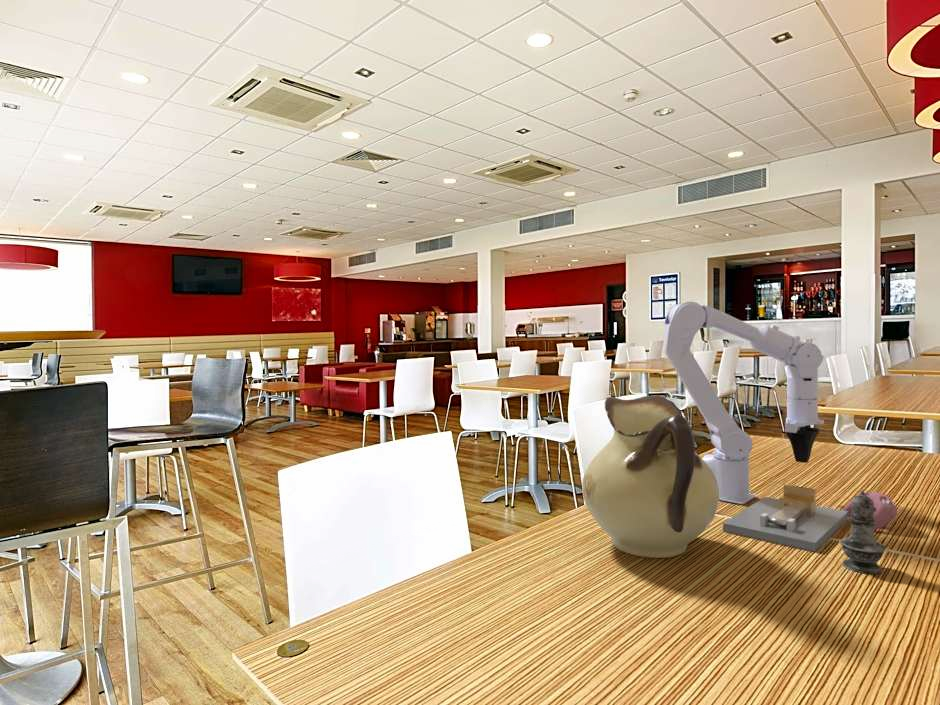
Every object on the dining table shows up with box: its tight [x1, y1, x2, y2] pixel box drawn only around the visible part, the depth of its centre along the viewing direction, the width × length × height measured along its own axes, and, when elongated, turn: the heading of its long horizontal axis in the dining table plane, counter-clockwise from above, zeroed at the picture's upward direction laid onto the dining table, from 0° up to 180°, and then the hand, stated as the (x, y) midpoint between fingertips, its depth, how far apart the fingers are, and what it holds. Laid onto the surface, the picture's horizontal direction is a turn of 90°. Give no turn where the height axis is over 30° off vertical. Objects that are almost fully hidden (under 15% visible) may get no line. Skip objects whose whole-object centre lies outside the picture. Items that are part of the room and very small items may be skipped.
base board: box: [722, 496, 849, 553], centre depth 110 cm, size 15×22×3 cm
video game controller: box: [843, 490, 898, 531], centre depth 110 cm, size 10×5×7 cm, turn 169°
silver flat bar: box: [768, 504, 806, 526], centre depth 109 cm, size 3×12×1 cm, turn 135°
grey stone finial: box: [839, 489, 886, 575], centre depth 91 cm, size 6×6×12 cm
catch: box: [779, 483, 817, 516], centre depth 113 cm, size 5×3×4 cm, turn 45°
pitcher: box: [581, 395, 720, 559], centre depth 101 cm, size 22×24×25 cm
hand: (802, 461), depth 126 cm, fingers closed
